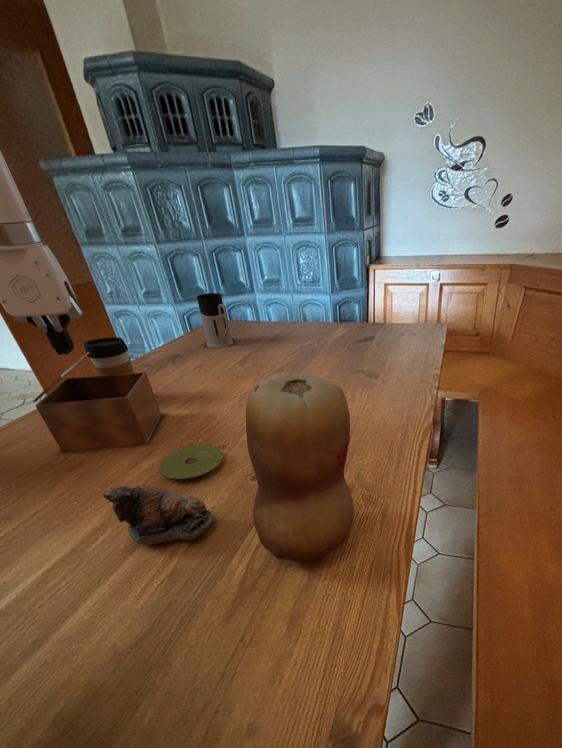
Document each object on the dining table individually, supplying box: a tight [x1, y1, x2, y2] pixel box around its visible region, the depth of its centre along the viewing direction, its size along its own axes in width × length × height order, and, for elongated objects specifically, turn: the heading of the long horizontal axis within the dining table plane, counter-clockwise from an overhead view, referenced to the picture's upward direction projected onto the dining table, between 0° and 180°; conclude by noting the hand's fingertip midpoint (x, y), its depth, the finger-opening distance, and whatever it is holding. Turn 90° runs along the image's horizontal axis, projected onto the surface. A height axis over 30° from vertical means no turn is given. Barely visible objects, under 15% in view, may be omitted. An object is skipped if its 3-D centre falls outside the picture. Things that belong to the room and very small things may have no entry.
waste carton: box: [34, 371, 162, 453], centre depth 80 cm, size 16×13×10 cm
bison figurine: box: [102, 484, 214, 546], centre depth 55 cm, size 12×7×10 cm, turn 108°
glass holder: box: [196, 292, 234, 349], centre depth 123 cm, size 9×14×15 cm, turn 43°
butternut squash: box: [245, 371, 355, 562], centre depth 49 cm, size 14×13×25 cm
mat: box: [158, 443, 224, 480], centre depth 71 cm, size 11×11×2 cm
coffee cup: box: [83, 336, 135, 376], centre depth 90 cm, size 8×8×15 cm
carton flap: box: [32, 352, 89, 403], centre depth 74 cm, size 8×13×1 cm
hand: (66, 352), depth 72 cm, fingers closed
